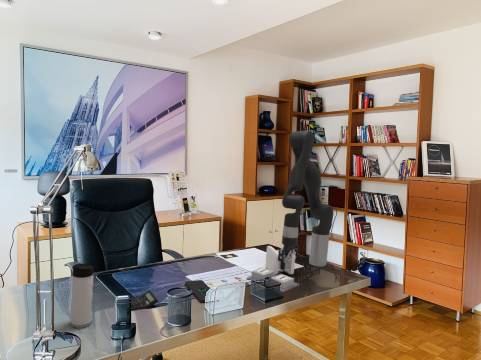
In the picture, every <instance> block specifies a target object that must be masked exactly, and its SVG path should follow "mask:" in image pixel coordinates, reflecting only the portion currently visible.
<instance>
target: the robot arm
mask: <svg viewBox="0 0 481 360" xmlns="http://www.w3.org/2000/svg"><path fill="white" fill-rule="evenodd" d="M289 143H290V147H291V150H292V153H293V155H294V156H295V157H294V158H295V159H296V162H295V164H294V165H293V167H292V168H291V171H290V174H289V180H288V185H287V188H286V190H285V192H284V195H283V197H282V199H281V203H282V204H281V205H282V207H283V208H284V209H290V210H295V211H294V212H290V213H286V214H284V220H283V227H282V237H281V245H282V246H284V247H283V249H281V248H279V249H278V250H279V255H278V261H280V262H281V264H280V270H283V271H285V261H286V259H288V257H289V256H290V255H291V252H293V253H295V260H296V259H297V258H298V256H299V247H300V246H299V245H298V242H299V240H298V239H299V224H300V223H299V222H300V217H301V214H302V211H303V208H304V205H305V202H306V201H305V197H304V196H303V195H301V194H300V195H299V194H294V192H297V191H302V190H303V189H305V192H306V196H307V201H308V206H309V211H310V212H309V213H310V215H311V217H312V218H313V219H314V220H316V221H317V220H318V221H319V224H317V225H315V226H313V227H312V229H311V240H310V249H309V260H308V264H309V265H310V266H311V265H312V266H313V267H320V268H321V267H326V266H327V263H328V262H327V261H328V251H329V241H330V232H331V230H332V225H333V219H334V208H333V207H332V205H330V204H327V203H323V202H322V201H321V199H320V193H319V192H320V189H321V186H322V178H321V173H320V170H319V168H318V167H317V166H316V164H314V163H313V162H312V161H311V159H310V157H311V155H312V151H313V148H314V145H315V136H314V133H313V132H312V131H311V130H308V129H307V130H298V131H293V132H291V133H290V136H289ZM284 255H285V256H284ZM280 256H281V259H280Z"/></svg>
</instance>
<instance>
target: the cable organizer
mask: <svg viewBox="0 0 481 360" xmlns="http://www.w3.org/2000/svg"><path fill="white" fill-rule="evenodd" d="M283 247H284V245H281V247H280V249H283ZM295 254H296V252H295V253H293V252H291V255H290V256H289V257H288V259H286V261H285V270H284V273H287V274H288V276H289V275H293V274H294V272H295V264H296V262H295V261H296V259H295ZM278 255H279V249H277V250H276V249H275V248H274V247H272V246H271V245H267V246H266V254H265V267H266V269H268V270H271V271H274V275H275V276H277V275H279V272H281V269H280V264H281V262H280V261H278ZM284 256H285V255H284ZM280 259H281V256H280Z"/></svg>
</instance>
